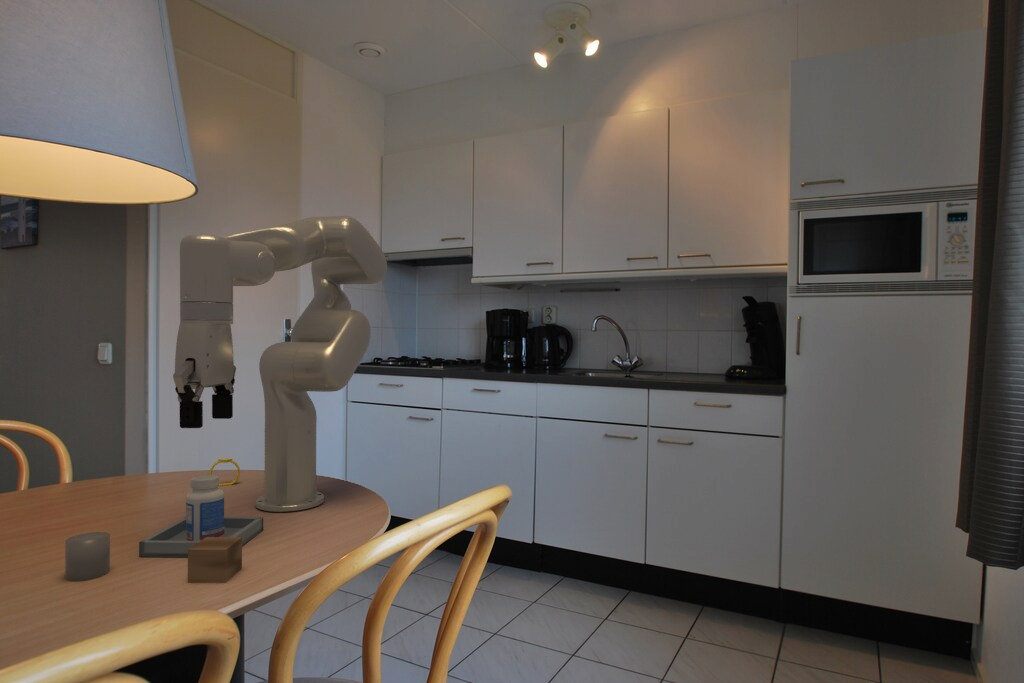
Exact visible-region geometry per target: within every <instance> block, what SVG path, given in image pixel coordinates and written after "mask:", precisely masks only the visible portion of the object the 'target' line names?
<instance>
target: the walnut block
mask: <svg viewBox="0 0 1024 683" xmlns="http://www.w3.org/2000/svg"><path fill="white" fill-rule="evenodd" d="M242 569H243V546H242V537H206V538H204V539H203V540H201V541H200V542H198V543H197V544H195V545H194V546H192V547H191V548H189V549H188V558H187V583H188V584H189V583H191V584H195V583H196V584H199V583H201V584H207V583H208V584H218V583H219V584H225V583H226V584H227V582H228V581H229V580H230V579H232V578H233V577H234V576H235V575H236V574H237V573H239V572H241V570H242Z"/></svg>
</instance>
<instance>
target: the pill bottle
mask: <svg viewBox="0 0 1024 683" xmlns="http://www.w3.org/2000/svg"><path fill="white" fill-rule="evenodd" d="M219 483H220V476H219V475H217V474H212V475H210V474H202V475H197V476H194V477H191V479H190V489H192V490H191V491H190V492H188V493H187V494H186V497H185V517H186V539H187V541H201V540H203V539H204V538H206V537H224V517H225V492H224V490H223V489H221V488H218V487H220V486H219Z"/></svg>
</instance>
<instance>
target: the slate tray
mask: <svg viewBox="0 0 1024 683" xmlns="http://www.w3.org/2000/svg"><path fill="white" fill-rule="evenodd" d="M262 532H264V517H263V516H262V517H261V516H258V517H257V516H251V517H250V516H224V537H242V547H243V546H245V545H247V544H248V543H249V542H250V541H251V540H253V539H254V538H255V537H257V536H258V535H259V534H261V533H262ZM198 542H200V541H187V539H186V516H185V517H183V518H181V519H180V520H178V521H175V522H173V523H172V524H170V525H168V526H166V527H164V528H163V529H161V530H159V531H158V532H155V533H153V534H151V535H150V536H148V537H146V538H144V539H142V540H141V541H139V542H138V557H139V558H182V559H183V558H185V559H188V549H189V548H191V547H192V546H194V545H195V544H197V543H198Z"/></svg>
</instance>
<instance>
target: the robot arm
mask: <svg viewBox="0 0 1024 683" xmlns="http://www.w3.org/2000/svg"><path fill="white" fill-rule="evenodd" d="M310 263H311V266H310V270H311V278H312V279H311V280H312V284H313V286H312V287H313V298H312V299H311V301H310V302H309V303H308V304H307V307H305V309H304V310H303V312H302V313H301V315H300V316H299V317H298V319H297V320H296V322H295V323H294V325H293V327H292V329H291V333H290V340H291V341H281V342H277V343H274V344H271V345H270V346H268V347H266V349H265V350H264V351H263V352H262V353H261V356H260V359H259V366H258V367H259V374H260V380H261V385H262V391H263V400H264V482H263V484H264V487H263V488H264V494H263V495H261V496H259V497H258V498H256V499H255V507H256V508H257V509H258V510H261V511H266V512H275V513H280V512H281V513H283V512H284V513H285V512H287V513H288V512H296V511H304V510H308V509H311V508H314V507H315V508H316V507H319V505H322V504H323V503H324V502H325V495H324V493H322V492H320V491H317V480H318V477H317V417H318V416H317V410H316V407H315V404H314V402H313V400H312V399H311V397H310V396H309V394H308V392H317V393H318V392H321V393H322V392H324V393H326V392H327V393H328V392H329V393H331V392H332V393H333V392H337V391H340V390H342V389H343V388H345V387H346V385H348V383H349V382H350V380H352V377H353V376H354V374H355V372H356V370H357V369H358V366H359V365H360V363H361V362H362V360H363V358H364V355H365V354H366V352H367V351H368V348H369V344H370V342H371V341H370V340H371V325H370V322H369V319H368V317H367V316H366V315H365V314H364V313H362V312H361V311H359V310H356V309H352V303H351V301H350V300H349V298H348V296H347V294H346V293H345V292H344V291H343V290H342V288H341V286H342V285H374V284H377V283H380V282H381V281H383V280H384V278H385V276H386V275H387V271H388V262H387V259H386V255H385V253H384V251H383V249H382V247H381V246H380V245H379V244H378V242H377V241H376V240H375V238H374V237H373V236H372V235H371V233H370V232H369V231H368V229H367V228H366V227H365V226H364V225H363V224H362V223H361V222H360V221H359V220H357V219H356V218H354V217H352V216H350V215H337V216H336V215H331V216H330V215H329V216H312V217H306V218H303V219H302V218H301V219H299V220H296V221H295V220H294V221H292V222H288V223H285V224H280V225H277V226H271V227H270V226H269V227H266V228H265V227H264V228H260V229H256V230H252V231H248V232H247V231H246V232H241V233H235V234H230V235H225V236H217V235H212V234H191V235H186V236H184V237H182V238H181V240H180V243H179V326H178V330H177V336H176V343H175V357H174V358H175V359H174V373H173V376H172V378H173V382H174V384H175V388H174V389H175V392H176V394H177V401H178V402H179V427H180V428H181V429H200V428H202V427H203V425H204V423H203V422H204V420H203V416H204V414H203V413H204V412H203V411H204V410H203V406H204V405H203V404H204V403H203V400H200V399H201V397H202V394H203V392H204V389H205V388H212V390H213V394H212V395H211V417H212V419H217V420H221V419H223V420H225V419H226V420H227V419H232V418H233V416H234V415H233V413H234V412H233V408H234V407H233V402H234V401H233V400H234V399H233V398H234V397H233V396H234V395H233V394H234V392H235V388H234V385H235V383H236V379H235V376H236V371H237V367H236V366H235V362H234V361H235V360H234V345H233V344H234V343H233V334H232V327H231V326H232V325H233V324H234V287H255V286H257V287H258V286H261V285H264V284H266V283H268V282H269V281H271V279H272V278H274V275H275V273H277V272H284V271H285V272H286V271H291V270H294V269H295V270H296V269H298V268H299V267H302V266H304V265H307V264H310Z"/></svg>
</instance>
